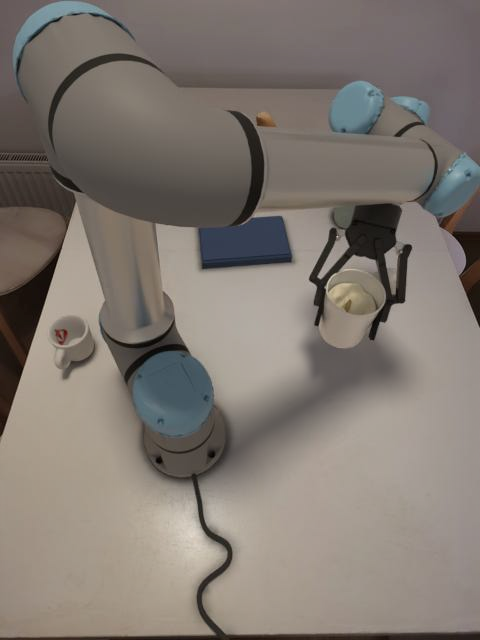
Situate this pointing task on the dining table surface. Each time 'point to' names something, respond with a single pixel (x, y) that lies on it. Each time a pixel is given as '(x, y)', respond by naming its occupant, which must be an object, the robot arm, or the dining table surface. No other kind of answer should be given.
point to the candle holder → (350, 307)
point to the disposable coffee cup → (343, 215)
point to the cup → (70, 339)
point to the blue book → (245, 243)
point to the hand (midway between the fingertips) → (343, 331)
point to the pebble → (390, 278)
